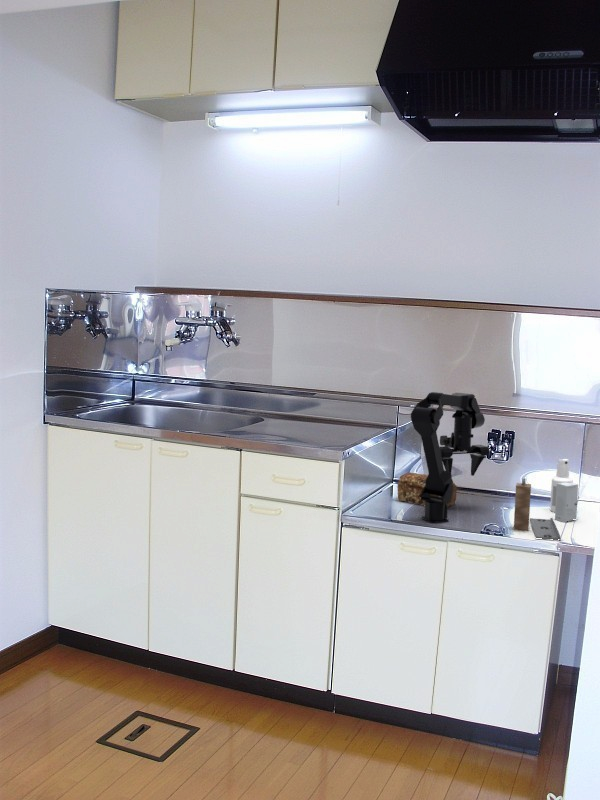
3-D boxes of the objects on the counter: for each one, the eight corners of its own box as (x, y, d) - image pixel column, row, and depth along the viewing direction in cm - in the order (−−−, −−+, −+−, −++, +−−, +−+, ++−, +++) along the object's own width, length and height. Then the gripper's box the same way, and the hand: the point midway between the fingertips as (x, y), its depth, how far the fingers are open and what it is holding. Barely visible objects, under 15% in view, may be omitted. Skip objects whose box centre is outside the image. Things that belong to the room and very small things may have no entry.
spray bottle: (557, 514, 280) (560, 461, 278) (546, 509, 286) (549, 457, 284) (575, 513, 282) (578, 461, 279) (563, 508, 288) (566, 457, 286)
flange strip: (560, 540, 248) (560, 536, 247) (535, 539, 249) (536, 534, 249) (552, 522, 269) (552, 517, 269) (529, 520, 270) (530, 516, 270)
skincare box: (564, 522, 269) (567, 486, 267) (553, 519, 273) (555, 483, 271) (577, 520, 272) (579, 484, 271) (566, 517, 276) (568, 481, 275)
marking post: (513, 529, 259) (516, 479, 257) (514, 526, 263) (516, 476, 261) (528, 531, 258) (531, 480, 256) (528, 527, 262) (531, 477, 260)
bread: (396, 501, 293) (397, 474, 292) (409, 496, 302) (410, 469, 301) (444, 510, 283) (445, 481, 281) (457, 504, 291) (458, 476, 290)
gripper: (473, 426, 288) (471, 470, 290) (426, 428, 282) (424, 473, 284) (491, 430, 278) (489, 476, 280) (443, 433, 271) (441, 479, 273)
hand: (460, 476), depth 279 cm, fingers open, 9 cm apart
